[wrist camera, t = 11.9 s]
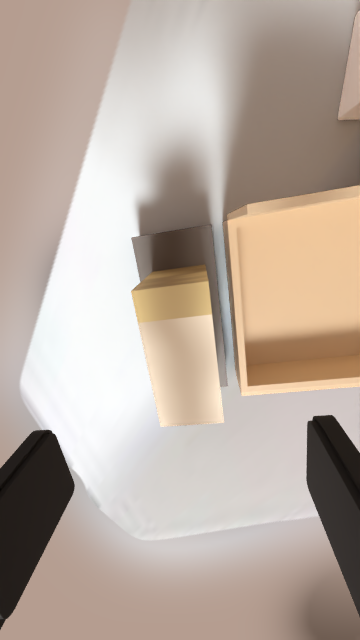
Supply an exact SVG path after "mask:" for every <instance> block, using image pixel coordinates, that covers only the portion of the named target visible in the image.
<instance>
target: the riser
mask: <svg viewBox="0 0 360 640" xmlns="http://www.w3.org/2000/svg"><path fill="white" fill-rule="evenodd" d="M132 243H133V248H134V253H135V257H136V262H137V267H138V272H139V277H140V282H142V281H143V280H144V279H145V278H146V277H147V276H148V275H149V274H150V273H152V272H155V271H162V270H169V269H176V268H184V267H191V266H198V265H205V266H206V271H207V276H208V282H209V291H210V300H211V309H212V318H213V327H214V336H215V346H216V355H217V364H218V373H219V382H220V387H225V386H228V383H227V373H226V363H225V353H224V343H223V334H222V324H221V314H220V304H219V294H218V284H217V275H216V265H215V255H214V245H213V235H212V226H211V225H206V226H199V227H193V228H187V229H181V230H175V231H169V232H162V233H156V234H150V235H144V236H138V237H132Z"/></svg>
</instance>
